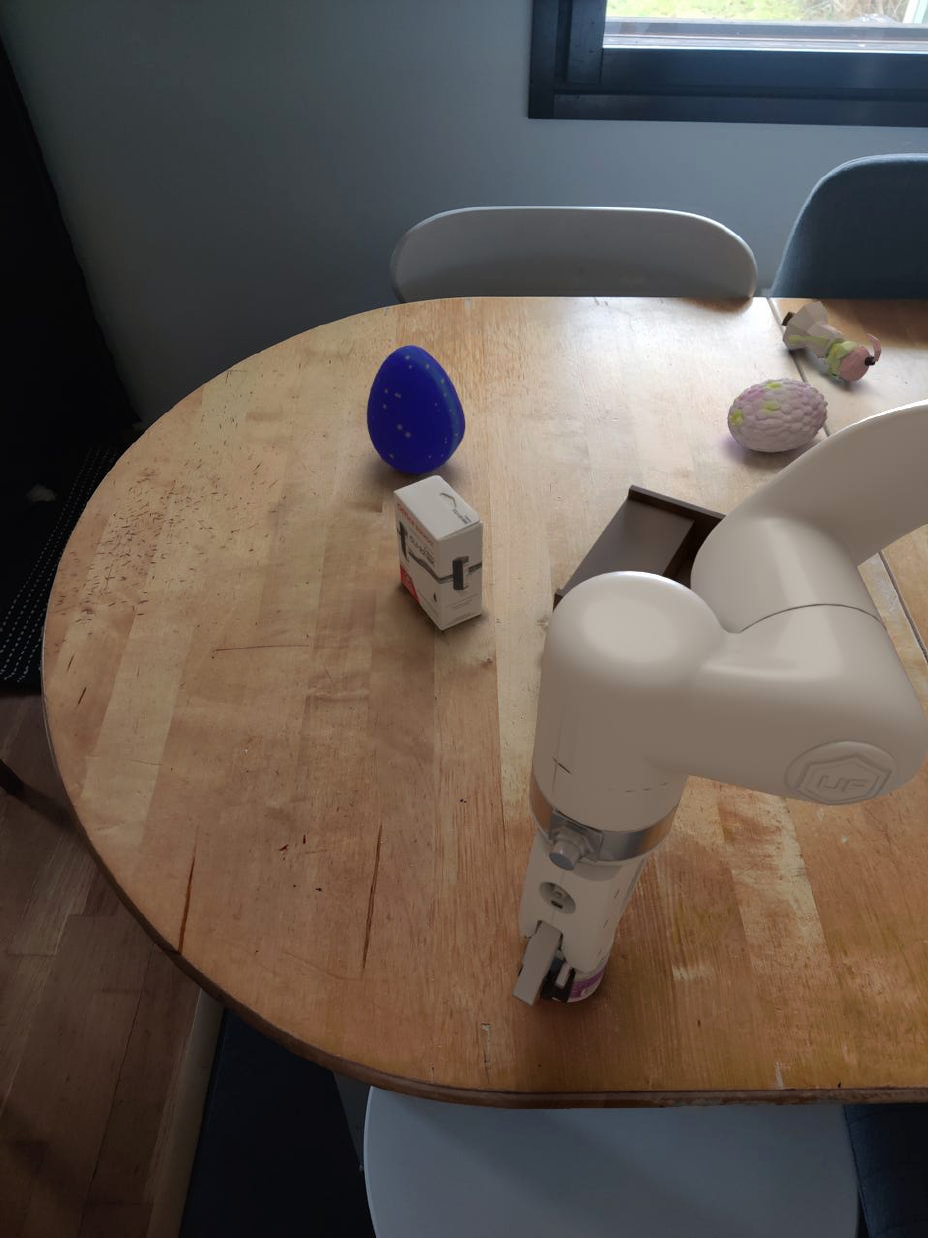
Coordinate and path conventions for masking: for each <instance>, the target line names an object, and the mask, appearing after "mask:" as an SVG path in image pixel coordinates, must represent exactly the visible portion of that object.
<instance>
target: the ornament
mask: <svg viewBox="0 0 928 1238" xmlns="http://www.w3.org/2000/svg"><path fill="white" fill-rule="evenodd" d="M459 397H460V396H459V395H458V392H457V390H456V387H455V385H454V383H453V381H452V379H451V378H450V376H449V375H448V373H447V371H446V370H445V368H444V367H442V365H441V364H440V363H439V362H438V361H437V360H436V359H435V357H434V356H432V355H431V354H430V353H429V352H428V351H427V350H425V349H424V348H422V347H420V346H417V345H413V344H409V345H408V344H407V345H404V346H400V347H398V348H397V349H395V350H394V351H392V352H391V353H390V354H388V356H387V357H385V359H384V360H383V361H382V363H381V365H380V366H379V369H378V371H377V372H376V374H375V377H374V379H373V382H372V384H371V387H370V391H369V395H368V399H367V406H366V425H367V432H368V435H369V438H370V441H371V443H372V446H373V448H374V449H375V451H376V452H377V454H378V455H379V457H380V458H381V459H382V460H383V461H384V462H385V463H386V464H387V465H388V466H390V467H392V468H393V469H394V470H396V471H398V472H401V473H405V474H407V475H421V474H422V475H423V474H426V473H430V472H433V471H435V470H437V469H438V468H440V467H442V466H443V465H445V463H447V462H448V461H449V460H450V458H452V456H453V455H454V454H455V452H456V450H457V449H458V448H459V446H460V444H461V443H462V442H463V439H464V437H465V432H466V415H465V413H464V408H463V405H462V403H461V400H460V398H459Z"/></svg>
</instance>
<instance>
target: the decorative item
mask: <svg viewBox="0 0 928 1238" xmlns="http://www.w3.org/2000/svg"><path fill="white" fill-rule="evenodd" d="M828 405H829V402H828V401H827V400H825V395H824V394H823V393H822V392H820V390H819V389H818V388H817V387H816V386H813V385H812V384H810V383H809V382H806V381H805V382H803V381H802V380H798V379H790V378H787V377H783V378H776V379H766V380H764V381H761V382H760V383H756V384H753V385H751V386H750V387H747V388H745V389H744V390H743V391H742V392H741V393H740V394H739V395H738V396H736V397H735V398H734V399H733V401H732V404H731V405H730V407H729V408H728V413H727V417H726V420H727V428H728V430H729V433H730V434H731V436H732V438H733V439H734V440H735V441H736V442H737V443H738V444H739V445H741V446H744V447H745V448H746V449H749V450H753V451H755V452H765V453H776V452H787V451H791V450H792V449H797V448H800V447H802V446H803V445H805V444H807V443H808V442H810V441H811V440H812V439H814V438H815V437H816V436H817V435H818V434H819V431H820V430H822V429H823V427H824V424H825V422H826V421H827V419H828V409H827V406H828Z"/></svg>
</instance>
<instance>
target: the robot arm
mask: <svg viewBox="0 0 928 1238" xmlns="http://www.w3.org/2000/svg"><path fill="white" fill-rule="evenodd" d="M726 515H727V516H726V517H725V518H724V519H723V520H722V521H721V522H720V523H719V524H718V525H717V526H716V527H715V528H714V529H713V530H712V532H711V533H710V534H709V536H708V537H707V538H706V540H705V542H704V543H703V545H702V546H701V548H700V549H699V551H698V553H697V556H696V558H695V561H694V564H693V568H692V571H691V590H690V589H688V588H687V587H685V586H683V585H682V584H680V583H677V582H675V581H673V580H671V579H668V578H665V577H662V576H659V575H655V574H650V573H645V572H635V571H621V572H612V573H606V574H602V575H599V576H595V577H593V578H590V579H588V580H586V581H584V582H582V583H580V584H579V585H577V586H576V587H574V588H573V589H572V590H571V591H569V592H568V593H567V594H566V595H565V596H564V597H563V598H562V600H561V601H560V602H559V604H558V605H557V607H556V608H555V609H554V612H553V611H552V612H553V614H552V613H551V616H550V618H549V621H548V623H547V627H546V631H545V632H546V633H545V637H544V644H543V653H542V664H541V673H540V682H539V683H540V684H539V691H538V692H539V693H538V700H537V701H538V702H537V711H536V721H535V728H534V729H535V730H534V740H533V750H532V758H531V766H530V777H529V785H528V787H529V788H528V806H529V811H530V815H531V818H532V820H533V822H534V824H535V826H536V831H535V835H534V839H533V843H532V845H531V846H532V847H531V849H530V851H529V859H528V864H527V867H526V873H525V875H524V876H525V878H524V881H523V887H522V891H521V897H520V903H519V909H518V910H519V911H518V929H519V933H520V936H521V937H522V940H524V941H525V940H526V939H527V938H528V942H527V944H526V947H525V950H524V952H523V957H522V960H521V963H520V969H519V971H518V974H517V976H518V978H517V980H516V983H515V986H514V988H513V990H512V994H511V996H512V997H513V998H515V999H517V1000H518V1001H520V1002H523V1004H525V1005H527V1006H529V1007H531V1008H532V1007H533V1006H534V1005H536V1003H537V1001H538V1000H539V999H540V998H541V999H543V1000H544V1001H548V1002H551V1001H553V999H552V998H553V997H554V998H556V999H557V1000H556V1001H558V1000H559V1001H558V1002H561V1003H562V1004H563V1003H564V1004H567V1003H568V1002H567V1001H568V999H569V997H570V995H571V991H572V987H573V983H574V979H575V975H576V972H575V970H574V968H575V969H577V970H579V971H582V972H584V973H587V972H590V971H592V970H594V969H595V968H596V967H597V966H598V964H599V963H600V961H601V959H602V957H603V955H604V953H605V951H606V949H607V947H608V945H609V943H610V940H611V938H612V936H613V934H614V932H615V933H616V931H617V927H618V925H619V923H620V921H621V919H622V916H623V915H624V913H625V911H626V909H627V907H628V904H629V901H630V900H631V897H632V895H633V893H634V891H635V889H636V886H637V884H638V881H639V879H640V878H641V875H642V873H643V870H644V868H645V866H646V863H647V862H648V859H649V856H651V855H652V854H653V853H654V852H656V851H657V850H658V849H659V848H660V847H661V845H662V844H663V843H664V842H665V841H666V839H667V837H668V836H669V833H670V831H671V829H672V826H673V823H674V820H675V817H676V814H677V811H678V809H679V805H680V804H681V803H680V802H681V799H682V797H683V794H684V790H685V787H686V785H687V782H688V779H689V776H691V777H695V778H703V779H706V780H710V781H715V782H719V783H723V784H726V785H731V786H735V787H738V788H744V789H746V790H750V791H755V792H759V793H763V794H767V795H771V796H776V797H780V798H785V799H790V800H795V801H802V802H808V803H814V804H817V805H824V806H838V807H839V806H850V805H855V804H860V803H864V802H867V801H871V800H875V799H878V798H881V797H884V796H887V795H890V794H892V793H893V792H896V791H897V790H899V789H901V788H902V787H904V786H905V785H906V784H908V783H909V782H910V781H911V780H912V779H913V778H914V777H915V776H916V775H917V774H918V772H919V771H920V769H921V768H922V766H923V764H924V762H925V761H926V757H927V754H928V722H927V717H926V714H925V712H924V709H923V705H922V704H921V700H920V697H919V695H918V693H917V691H916V689H915V687H914V685H913V682H912V681H911V679H910V677H909V674H908V672H907V670H906V668H905V666H904V663H903V662H902V660H901V657H900V655H899V653H898V651H897V650H896V647H895V645H894V643H893V640H892V639H891V637H890V634H889V633H888V629H887V627H886V625H885V623H884V620H883V618H882V616H881V614H880V611H879V610H878V608H877V606H876V604H875V602H874V599H873V597H872V596H871V595H872V594H870V591H869V589H868V587H867V585H866V583H865V580H864V579H863V577H862V574H861V572H860V570H859V568H858V567H859V566H861V565H862V564H863V563H865V562H866V561H868V560H869V559H871V558H872V557H874V556H875V555H877V554H879V553H880V552H881V551H883V550H884V549H886V548H887V547H888V546H889V545H891V544H893V543H895V542H897V541H899V540H900V539H901V538H903V537H905V536H907V535H908V534H910V533H913V532H914V531H916V530H918V529H919V528H921V527H923V526H926V525H928V398H927V399H924V400H920V401H915V402H912V403H910V404H906V405H904V406H899V407H896V408H893V409H889V410H887V411H884V412H881V413H878V414H875V415H871V416H869V417H866V418H864V419H862V420H859V421H857V422H854V423H852V424H850V425H848V426H846V427H844V428H842V429H840V430H838V431H837V432H835V433H833V434H831V435H829V436H827V437H826V438H824V439H822V440H821V441H819V442H818V443H817V444H815V445H813V446H812V447H811V448H809V449H808V450H807V451H805V452H804V453H803V454H801V455H800V456H799V457H797V458H796V459H795V460H793V461H792V462H790V463H789V464H788V465H786V467H784V468H782V469H781V471H779V472H777V473H776V474H775V475H774V476H772V477H771V478H770V479H769V480H767V481H766V482H765V483H763V484H762V485H761V486H759V487H758V488H756V489H755V490H754V491H753V492H752V493H751V494H749V495H748V496H747V497H745V498H744V499H743V500H742V501H740V503H738V504H737V505H736V506H735V507H734V508H733V509H731V511H729V512H728V514H726ZM557 950H559V951H561V952H562V953H563V955H564V959H563V960H561V959H559V958H557V957H555V954H556V952H557ZM572 967H573V968H572Z"/></svg>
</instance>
